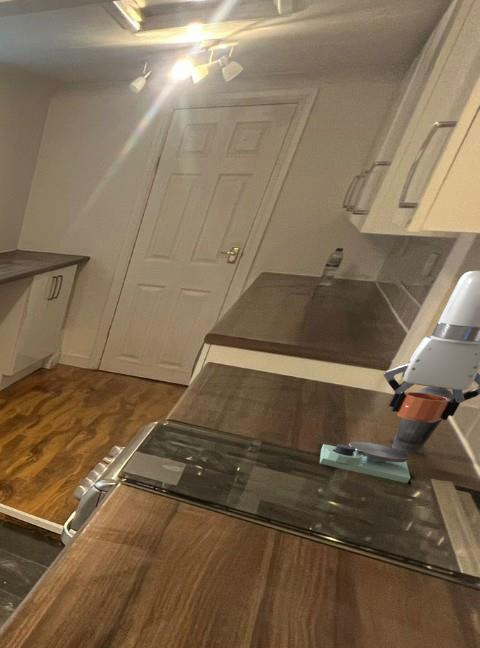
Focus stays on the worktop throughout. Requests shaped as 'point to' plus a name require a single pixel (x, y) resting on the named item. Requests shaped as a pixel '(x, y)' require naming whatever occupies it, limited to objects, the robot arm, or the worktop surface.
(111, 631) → the worktop surface
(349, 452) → the tare button
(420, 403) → the bowl
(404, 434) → the beverage cup
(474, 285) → the robot arm
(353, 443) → the scale pan
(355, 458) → the scale
